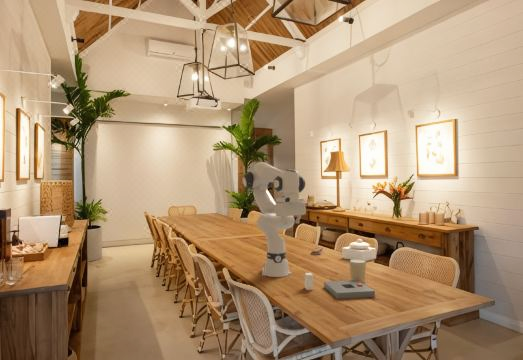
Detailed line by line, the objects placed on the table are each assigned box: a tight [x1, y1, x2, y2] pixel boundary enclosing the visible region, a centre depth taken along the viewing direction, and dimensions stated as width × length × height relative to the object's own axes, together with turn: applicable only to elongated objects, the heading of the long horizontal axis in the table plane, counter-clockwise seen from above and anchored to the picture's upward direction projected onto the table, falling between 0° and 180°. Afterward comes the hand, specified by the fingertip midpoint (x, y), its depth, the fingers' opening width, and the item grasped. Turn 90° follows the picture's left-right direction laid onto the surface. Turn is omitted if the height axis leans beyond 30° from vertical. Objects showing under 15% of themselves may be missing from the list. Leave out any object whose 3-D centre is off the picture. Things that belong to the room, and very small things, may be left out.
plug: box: [304, 272, 314, 291], centre depth 192 cm, size 7×4×8 cm, turn 9°
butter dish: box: [341, 238, 377, 262], centre depth 261 cm, size 18×18×16 cm
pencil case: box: [311, 246, 323, 256], centre depth 281 cm, size 11×20×5 cm, turn 149°
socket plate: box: [323, 279, 376, 300], centre depth 185 cm, size 20×20×4 cm
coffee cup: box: [348, 259, 367, 284], centre depth 204 cm, size 9×9×12 cm
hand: (291, 223), depth 190 cm, fingers open, 8 cm apart
